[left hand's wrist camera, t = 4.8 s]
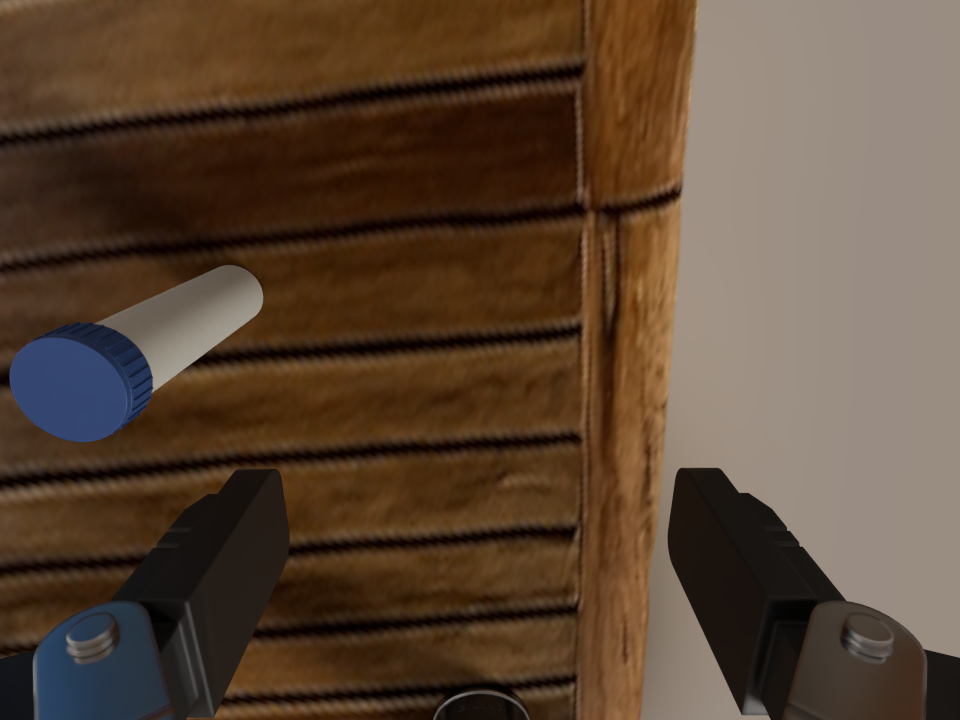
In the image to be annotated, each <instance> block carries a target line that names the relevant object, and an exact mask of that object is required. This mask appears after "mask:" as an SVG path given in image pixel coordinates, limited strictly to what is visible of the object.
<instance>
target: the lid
mask: <svg viewBox="0 0 960 720" xmlns="http://www.w3.org/2000/svg"><path fill="white" fill-rule="evenodd" d="M32 341H33V342H31V343H29V344H27V345H26V346H24V347H23V348H22V349H21V350H20V351H19V352H18V353H17V355H16V356H15V358H14V360H13V362H12V365H11V369H10V385H11V390H12V393H13V395H14V398H15V400H16V402H17V404H18V405H19V407H20V408H21V410H22V411H23V412H24V414H25V415H26V416H27V417H28V418H29V419H30V420H31V421H32V422H33V423H35V424H36V425H37V426H38V427H40V428H41V429H43V430H44V431H46V432H48V433H50V434H52V435H54V436H56V437H59V438H62V439H66V440H70V441H77V442H90V441H95V440H99V439H102V438H105V437H107V436H109V435H110V434H113V433H115V432H116V431H117V430H119V429H122V428H123V427H124V426H125V425H127V424H128V423H129V422H130V421H132V420H133V419H134V418H136V417H137V416H138V415H139V414H140V412H141V411H143V410H144V409H145V408H146V407H147V406H146V404H147V403H148V401H149V400H150V399H151V393H152V390H153V377H152V373H151V369H150V366H149V364H148V362H147V360H146V358H145V356H144V355H143V353H142V352H141V351H140V349H139V348H138V347H137V346H136V345H135V344H134V343H133V342H132V341H131V340H130V339H128V337H126V336H124V335H123V334H121V333H119V332H118V331H117V330H115V329H111V328H109V327H106V326H104V325H98V324H92V322H89V323H80V322H77V323H75V324H72V325H70V326H69V325H68V324H67V325H65V326H62V327H60V328H58V329H55V330H53V331H51V332H48V333H46V334H44V335H42V336H40V337H38V338H36V339H34V340H32Z"/></svg>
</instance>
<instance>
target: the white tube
mask: <svg viewBox="0 0 960 720" xmlns="http://www.w3.org/2000/svg"><path fill="white" fill-rule="evenodd" d="M262 303H263V292H262V288H261V286H260V284H259V282H258V280H257V279H256V278H255V277H254V276H253V275H252V274H251V273H250V272H249V271H247V270H245V269H243V268H241V267H238V266H234V265H225V266H221V267H218V268H216V269H214V270H211V271H209V272H207V273H205V274H203V275H200V276H198V277H196V278H194V279H192V280H189V281H187V282H185V283H183V284H181V285H178V286H176V287H174V288H172V289H170V290H167V291H165V292H163V293H161V294H159V295H156V296H154V297H152V298H150V299H148V300H145V301H143V302H141V303H139V304H137V305H134V306H132V307H130V308H128V309H126V310H123V311H121V312H119V313H117V314H115V315H112V316H110V317H108V318H106V319H104V320H101V321H99V322H97V323H95V324H98V325H104V326H106V327H109V328H111V329H115V330H117V331H118V332H119V333H121V334H123V335H124V336H126V337H128V339H130V340H131V341H132V342H133V343H134V344H135V345H136V346H137V347H138V348H139V349H140V351H141V352H142V353H143V355H144V356H145V358H146V360H147V362H148V364H149V366H150V369H151V373H152V377H153V390H152V392H154V391H155V390H156V389H158V388H159V387H160V386H162V385H163V384H164V383H166V382H167V381H169V380H170V379H171V378H173V377H174V376H175V375H177V374H178V373H179V372H181V371H182V370H183V369H185V368H186V367H187V366H189V365H190V364H191V363H193V362H194V361H195V360H197V359H198V358H199V357H201V356H202V355H203V354H205V353H206V352H207V351H209V350H210V349H212V348H213V347H214V346H216V345H217V344H218V343H220V342H221V341H222V340H224V339H225V338H226V337H228V336H229V335H230V334H232V333H233V332H234V331H236V330H237V329H238V328H240V327H241V326H242V325H244V324H245V323H246V322H248V321H249V320H250V319H252V318H253V317H254V316H256V315H257V314H258V312H259V311H260V309H261V307H262Z"/></svg>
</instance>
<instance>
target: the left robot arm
mask: <svg viewBox="0 0 960 720" xmlns="http://www.w3.org/2000/svg"><path fill="white" fill-rule="evenodd" d="M668 549H669V555H670V559H671V562H672V565H673V567H674V569H675V572H676V574H677V576H678V578H679V580H680V582H681V585H682V587H683V589H684V591H685V593H686V595H687V597H688V600H689V602H690V604H691V606H692V608H693V611H694V613H695V615H696V617H697V619H698V621H699V624H700V626H701V628H702V630H703V632H704V634H705V636H706V639H707V641H708V643H709V645H710V647H711V649H712V652H713V654H714V656H715V658H716V660H717V662H718V665H719V667H720V669H721V671H722V673H723V675H724V678H725V680H726V682H727V684H728V686H729V688H730V691H731V693H732V695H733V697H734V699H735V701H736V703H737V706H738V708H739V710H740V712H741V714H742V715H769V717H770V719H771V720H960V658H958V657H954V656H949V655H945V654H941V653H937V652H933V651H929V650H925V649H923V647H922V646H921V644H920V643H919V641H918V640H917V639H916V638H915V637H914V635H913V634H911V633H910V632H909V631H908V630H907V629H906V628H905V627H904V626H902V625H901V624H900V623H898V622H897V621H895V620H894V619H892V618H891V617H889V616H887V615H885V614H884V613H882V612H880V611H877V610H875V609H873V608H870V607H868V606H865V605H862V604H858V603H854V602H848V601H846V600H845V598H844V597H843V596H842V595H841V594H840V592H839V591H838V590H837V589H836V587H835V586H834V585H833V584H832V582H831V581H830V580H829V579H828V577H827V576H826V575H825V574H824V573H823V571H822V570H821V569H820V568H819V566H818V565H817V564H816V563H815V561H814V560H813V559H812V558H811V557H810V555H809V554H808V553H807V552H806V550H805V549H804V548H803V547H800V546H799V542H798V540H797V539H796V538H795V537H794V536H793V534H792V533H791V532H790V531H787V527H786V526H785V524H784V523H783V522H782V521H781V520H780V518H779V517H778V516H777V515H776V513H775V512H774V511H773V510H772V509H771V508H770V507H768V506H767V505H765V504H764V503H762V502H761V501H759V500H758V499H757V498H755V497H753V496H752V495H751V494H749V493H739V492H738V491H737V490H736V488H735V487H734V486H733V484H732V483H731V482H730V480H729V479H728V478H727V476H726V475H725V474H724V473H723V471H722V470H721V469H719V468H680V469H679V470H678V472H677V474H676V479H675V485H674V492H673V500H672V507H671V514H670V521H669V528H668ZM288 551H289V528H288V521H287V514H286V507H285V500H284V493H283V486H282V480H281V475H280V473H279V471H278V470H277V469H237V470H236V471H235V472H234V473H233V474H232V476H231V477H230V478H229V480H228V481H227V482H226V484H225V485H224V486H223V487H222V489H221V490H220V491H219V493H218V494H208V495H206V496H205V497H203V498H202V499H200V500H199V501H197V502H196V503H194V504H193V505H191V506H190V507H188V508H187V509H185V510H184V511H183V513H182V514H181V515H180V516H179V517H178V519H177V520H176V521H175V522H174V524H173V525H172V526H171V527H170V528H169V532H166V533H165V535H164V536H163V537H162V538H161V539H160V541H159V542H158V543H157V547H156V548H153V549H152V550H151V552H150V553H149V554H148V555H147V557H146V558H145V559H144V560H143V561H142V563H141V564H140V565H139V566H138V568H137V569H136V570H135V571H134V572H133V574H132V575H131V576H130V577H129V579H128V580H127V581H126V582H125V583H124V585H123V586H122V587H121V588H120V590H119V591H118V592H117V593H116V594H115V596H114V597H113V598H112V599H111V601H110V602H106V603H102V604H98V605H95V606H92V607H89V608H87V609H85V610H83V611H80V612H78V613H76V614H75V615H73V616H71V617H69V618H68V619H66V620H65V621H63V622H62V623H60V624H59V625H58V626H56V627H55V628H54V629H53V630H52V631H51V632H50V633H48V634H47V635H46V637H45V638H44V639H43V640H42V641H41V643H40V644H39V646H38V647H37V649H36V650H34V651H31V652H27V653H23V654H19V655H14V656H10V657H6V658H2V659H0V720H186V718H187V717H214V716H215V714H216V712H217V710H218V707H219V705H220V703H221V701H222V699H223V697H224V695H225V693H226V690H227V688H228V686H229V684H230V682H231V680H232V678H233V675H234V673H235V671H236V669H237V667H238V665H239V663H240V660H241V658H242V656H243V654H244V652H245V650H246V648H247V646H248V643H249V641H250V639H251V637H252V635H253V633H254V631H255V628H256V626H257V624H258V622H259V620H260V618H261V616H262V614H263V611H264V609H265V607H266V605H267V603H268V601H269V599H270V596H271V594H272V592H273V590H274V588H275V586H276V584H277V581H278V579H279V577H280V575H281V573H282V571H283V569H284V566H285V564H286V561H287V557H288ZM433 720H530V715H529V712H528V710H527V708H526V706H525V705H524V703H523V702H522V701H521V700H520V699H519V698H517V697H516V696H515V695H513V694H511V693H510V692H507V691H505V690H502V689H499V688H495V687H488V686H475V687H468V688H464V689H461V690H458V691H456V692H453V693H452V694H450V695H448V696H447V697H445V698H444V699H443V700H442V701H441V702H440V703H439V704H438V706H437V707H436V709H435V711H434V715H433Z"/></svg>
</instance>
